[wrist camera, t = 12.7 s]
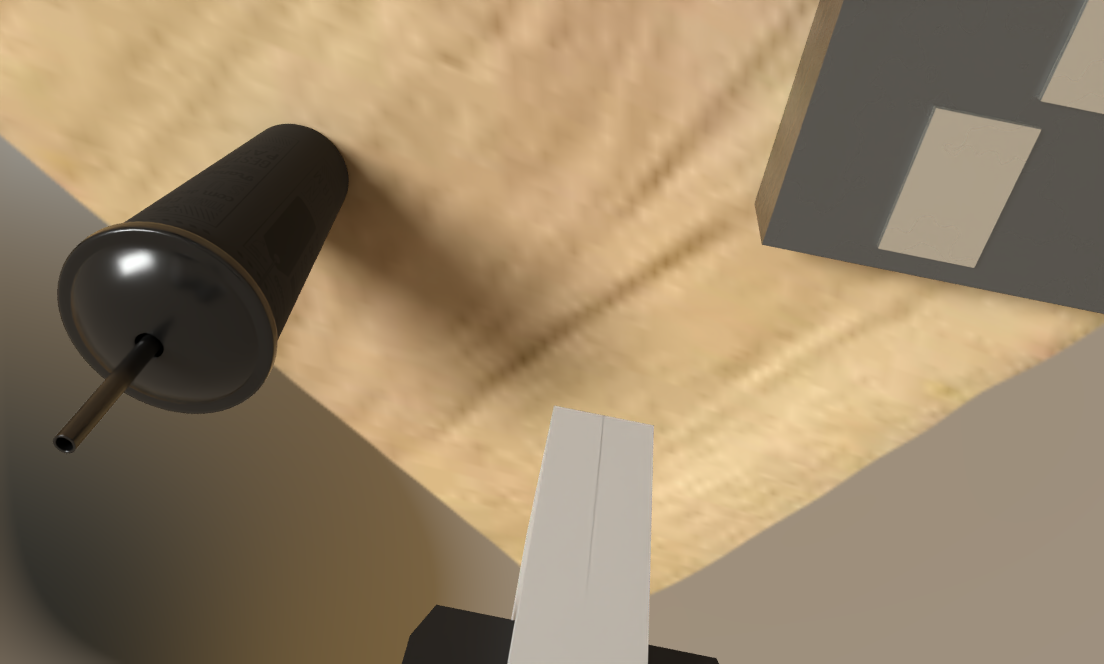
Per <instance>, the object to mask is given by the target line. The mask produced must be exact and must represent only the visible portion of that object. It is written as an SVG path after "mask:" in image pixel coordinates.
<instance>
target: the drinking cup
mask: <svg viewBox="0 0 1104 664" xmlns="http://www.w3.org/2000/svg"><path fill="white" fill-rule="evenodd" d="M348 182H349V181H348V172H347V168H346V165H345V162H344V160H343V158H342V156H341V154H340V153H339V151H338V150H337V149H336V147H335V146H334V145H333V144H332V143H331V142H330V141H329V140H328V139H327V138H326V137H324V136H323V135H321V134H320V133H318V132H317V131H315V130H313V129H310V128H308V127H305V126H301V125H296V124H281V125H276V126H273V127H270V128H268V129H266V130H265V131H263V132H262V133H260V134H259V135H257V136H256V137H254V138H252V139H251V140H249V141H248V142H246V143H245V144H243V145H242V146H240V147H239V148H237V149H236V150H234V151H233V152H231V153H230V154H228V155H227V156H225V157H223V158H222V159H220V160H219V161H217V162H216V163H214V164H213V165H211V166H210V167H208V168H207V169H205V170H204V171H202V172H201V173H199V174H198V175H196V176H194V177H193V178H191V179H190V180H188V181H187V182H185V183H184V184H182V185H181V186H179V187H178V188H176V189H175V190H173V191H172V192H170V193H169V194H167V195H166V196H164V197H162V198H161V199H159V200H158V201H156V202H155V203H153V204H152V205H150V206H149V207H147V208H146V209H144V210H143V211H141V212H140V213H138V214H137V215H135V216H133V217H132V218H130V219H129V220H127V221H126V222H124V223H121V224H115V225H112V226H108V227H106V228H103V229H101V230H99V231H97V232H95V233H93V234H91V235H90V236H88V237H87V238H86V239H85V240H83V241H82V242H81V243H80V244H78V245H77V247H76V248H74V249H73V251H72V252H71V253H70V255H69V256H68V257H67V259H66V261H65V263H64V264H63V267H62V270H61V272H60V276H59V281H58V289H57V295H58V297H57V298H58V299H57V300H58V307H59V312H60V316H61V319H62V322H63V325H64V327H65V330H66V331H67V334H68V336H69V338H70V339H71V341H72V343H73V345H74V346H75V348H76V349H77V350H78V352H79V353H80V355H81V356H82V357H83V358H84V359H85V361H86V362H87V363H88V364H89V365H90V366H91V367H92V368H93V369H94V370H95V371H96V372H97V373H98V374H99V375H100V376H101V377H103V378H104V379H105V380H104V382H103V383H102V384H101V385H100V386H99V387H98V388H97V389H96V391H95V392H94V393H93V394H92V395H91V396H90V397H89V399H88V400H87V401H86V402H85V403H84V404H83V405H82V406H81V408H80V409H79V410H78V411H77V412H76V413H75V415H74V416H73V417H72V418H71V419H70V420H69V421H68V422H67V424H66V425H65V426H64V427H63V428H62V429H61V430H60V431H59V432H58V434H57V435H56V436H55V437H54V439H53V443H54V445H55V447H56V448H57V449H58V450H60V451H61V452H64V453H73V452H74V451H75V450H76V449H77V448H78V447H79V445H80V444H81V443H82V442H83V441H84V439H85V438H86V437H87V436H88V434H89V433H90V432H91V431H92V430H93V428H94V427H95V426H96V425H97V424H98V423H99V421H100V420H101V419H102V418H103V417H104V415H105V414H106V413H107V412H108V411H109V409H110V408H111V407H112V406H113V405H114V403H115V402H116V401H117V400H118V399H119V397H120V396H121V395H122V394H123V393H126V394H127V395H129V396H131V397H133V398H135V399H137V400H139V401H142V402H144V403H146V404H149V405H151V406H154V407H157V408H161V409H164V410H168V411H174V412H180V413H188V414H189V413H191V414H205V413H213V412H218V411H223V410H226V409H229V408H231V407H234V406H236V405H238V404H240V403H242V402H244V401H245V400H247V399H248V398H250V397H251V396H252V395H253V394H255V393H256V392H257V391H258V390H259V388H260V387H261V386H262V385H263V383H264V382H265V381H266V379H267V377H268V375H269V374H270V372H271V370H272V367H273V365H274V362H275V358H276V353H277V341H278V338H279V336H280V334H281V332H282V330H283V328H284V326H285V324H286V322H287V319H288V317H289V315H290V313H291V311H292V309H293V307H294V305H295V303H296V300H297V298H298V296H299V294H300V292H301V290H302V288H303V286H304V284H305V281H306V279H307V277H308V275H309V273H310V271H311V269H312V267H313V265H314V262H315V260H316V258H317V256H318V254H319V252H320V250H321V248H322V246H323V243H324V241H325V239H326V237H327V235H328V233H329V231H330V229H331V227H332V225H333V222H334V220H335V218H336V216H337V214H338V212H339V210H340V208H341V206H342V203H343V201H344V199H345V197H346V194H347V191H348Z"/></svg>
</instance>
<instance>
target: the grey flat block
mask: <svg viewBox="0 0 1104 664" xmlns="http://www.w3.org/2000/svg"><path fill="white" fill-rule="evenodd" d="M755 208H756V214H757V220H758V225H759V231H760V236H761V242H762V245H766V246H771V247H776V248H781V249H786V250H791V251H796V252H801V253H806V254H811V255H816V256H821V257H826V258H831V259H836V260H841V261H845V262H850V263H855V264H860V265H865V266H870V267H875V268H880V269H885V270H890V271H895V272H900V273H905V274H910V275H915V276H919V277H924V278H929V279H934V280H939V281H944V282H949V283H954V284H959V285H964V286H969V287H974V288H979V289H984V290H989V291H994V292H998V293H1003V294H1008V295H1013V296H1018V297H1023V298H1028V299H1033V300H1038V301H1043V302H1048V303H1053V304H1058V305H1063V306H1068V307H1072V308H1077V309H1082V310H1087V311H1092V312H1097V313H1102V314H1104V0H820V2H819V5H818V8H817V11H816V14H815V17H814V21H813V24H812V27H811V30H810V33H809V36H808V39H807V42H806V45H805V49H804V52H803V55H802V58H801V61H800V64H799V67H798V70H797V74H796V77H795V80H794V83H793V86H792V89H791V92H790V95H789V98H788V102H787V105H786V108H785V111H784V114H783V117H782V120H781V123H780V127H779V130H778V133H777V136H776V139H775V142H774V145H773V148H772V152H771V155H770V158H769V161H768V164H767V167H766V170H765V173H764V176H763V180H762V183H761V186H760V189H759V192H758V195H757V198H756V201H755Z"/></svg>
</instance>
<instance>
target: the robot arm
mask: <svg viewBox="0 0 1104 664" xmlns="http://www.w3.org/2000/svg"><path fill="white" fill-rule="evenodd" d="M653 435H654V425H649V424H644V423H639V422H634V421H629V420H624V419H619V418H614V417H609V416H604V415H599V414H594V413H589V412H584V411H579V410H574V409H569V408H564V407H558V406H554V408H553V413H552V418H551V422H550V427H549V432H548V436H547V441H546V446H545V451H544V455H543V460H542V465H541V470H540V474H539V479H538V484H537V488H536V493H535V498H534V503H533V507H532V512H531V517H530V521H529V526H528V531H527V536H526V541H525V547H524V552H523V558H522V563H521V569H520V575H519V580H518V586H517V591H516V597H515V602H514V608H513V613H512V619H511V620H510V619H505V618H500V617H495V616H490V615H485V614H480V613H475V612H470V611H465V610H460V609H455V608H450V607H445V606H440V605H436V606H435V607H434V608H433V609H432V610H431V612H430V613H429V614H428V615H427V616H426V618H425V619H424V620H423V621H422V622H421V623H420V625H419V626H418V627H417V628H416V629H415V630H414V632H413V633H412V634H411V635H410V637H409V641H408V644H407V648H406V651H405V655H404V658H403V662H402V664H719V663H718V661H717V659H716V658H712V657H707V656H702V655H697V654H692V653H687V652H682V651H677V650H672V649H667V648H662V647H657V646H652V645H648V637H649V636H648V635H649V634H648V633H649V596H650V556H651V516H652V476H653Z"/></svg>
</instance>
